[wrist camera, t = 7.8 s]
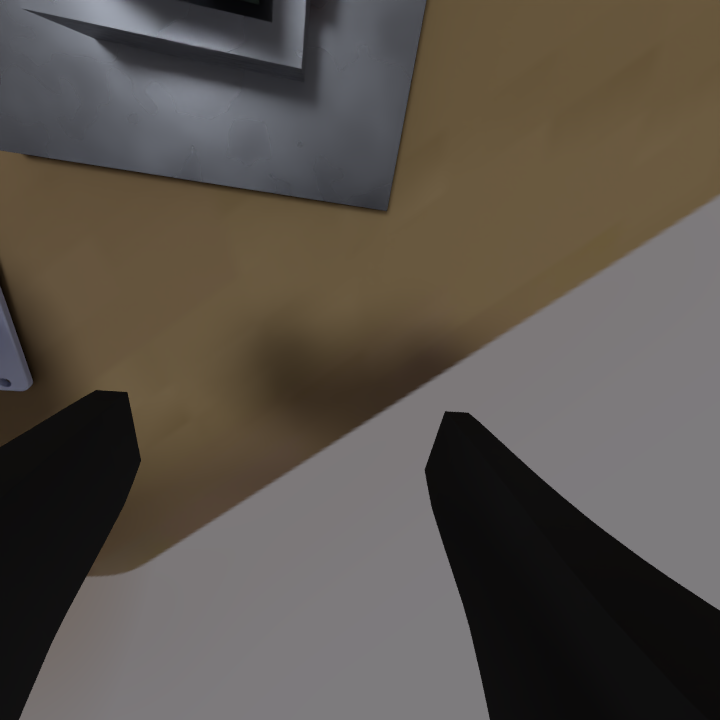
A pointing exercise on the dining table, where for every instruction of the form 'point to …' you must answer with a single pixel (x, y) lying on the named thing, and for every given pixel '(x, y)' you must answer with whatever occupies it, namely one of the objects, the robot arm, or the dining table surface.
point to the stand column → (252, 1)
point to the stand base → (215, 90)
